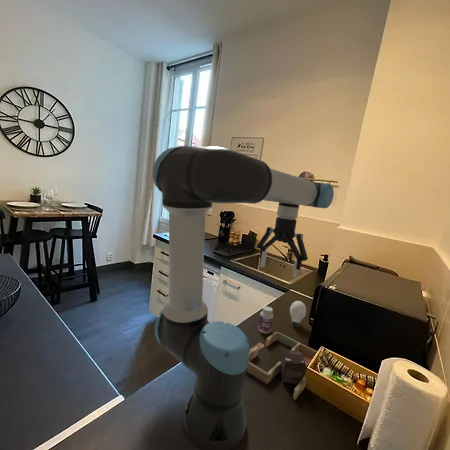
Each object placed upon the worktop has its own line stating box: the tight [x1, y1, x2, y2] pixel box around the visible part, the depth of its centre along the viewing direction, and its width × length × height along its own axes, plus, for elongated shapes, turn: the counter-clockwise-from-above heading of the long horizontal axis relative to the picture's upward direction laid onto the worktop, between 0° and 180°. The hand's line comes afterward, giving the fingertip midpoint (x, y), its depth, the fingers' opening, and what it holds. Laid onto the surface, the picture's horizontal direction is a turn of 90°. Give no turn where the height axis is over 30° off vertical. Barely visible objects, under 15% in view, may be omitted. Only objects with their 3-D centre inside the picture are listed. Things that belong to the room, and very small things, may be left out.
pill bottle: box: [257, 305, 274, 334], centre depth 107 cm, size 5×5×10 cm
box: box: [280, 348, 307, 386], centre depth 82 cm, size 6×6×7 cm
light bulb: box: [289, 300, 307, 328], centre depth 115 cm, size 7×7×11 cm
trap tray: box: [246, 330, 318, 401], centre depth 89 cm, size 24×22×3 cm
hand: (277, 271), depth 102 cm, fingers open, 13 cm apart
